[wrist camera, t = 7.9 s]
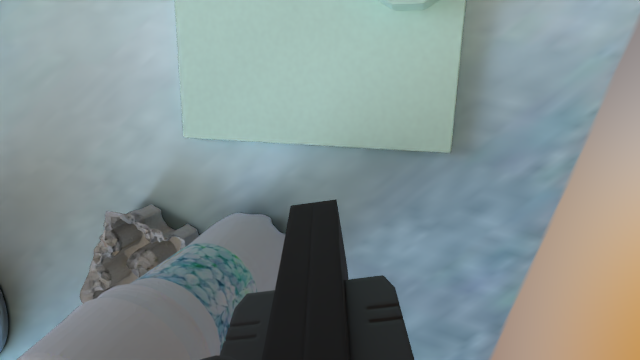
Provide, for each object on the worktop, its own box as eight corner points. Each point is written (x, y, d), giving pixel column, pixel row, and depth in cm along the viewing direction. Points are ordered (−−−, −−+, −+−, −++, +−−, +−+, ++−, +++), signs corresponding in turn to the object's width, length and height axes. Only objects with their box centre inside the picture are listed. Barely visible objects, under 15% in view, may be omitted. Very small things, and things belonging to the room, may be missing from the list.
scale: (192, 135, 28) (166, 141, 25) (179, -81, 25) (148, -103, 22) (450, 150, 24) (454, 158, 21) (476, -110, 21) (485, -141, 18)
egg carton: (175, 336, 33) (142, 369, 29) (105, 290, 34) (64, 316, 30) (219, 239, 30) (188, 261, 26) (140, 190, 31) (99, 205, 27)
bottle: (203, 217, 30) (-178, 444, 11) (278, 190, 28) (-34, 413, 9) (238, 295, 30) (-60, 630, 12) (314, 274, 28) (98, 643, 10)
